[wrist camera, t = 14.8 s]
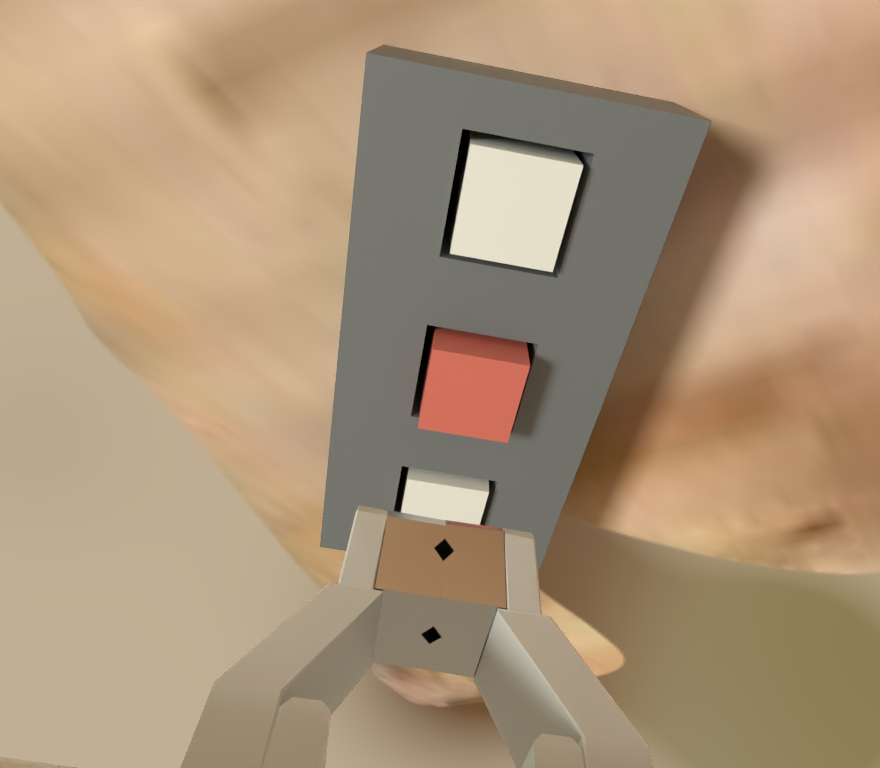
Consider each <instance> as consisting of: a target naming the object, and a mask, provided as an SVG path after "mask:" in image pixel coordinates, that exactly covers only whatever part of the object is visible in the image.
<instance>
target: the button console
mask: <svg viewBox="0 0 880 768" xmlns="http://www.w3.org/2000/svg"><path fill="white" fill-rule="evenodd" d="M710 124H711V121H710V120H708V119H706V118H704V117H702V116H700V115H698V114H696V113H694V112H692V111H690V110H688V109H686V108H684V107H682V106H680V105H678V104H676V103H674V102H669V101H664V100H659V99H654V98H648V97H643V96H638V95H633V94H628V93H623V92H618V91H613V90H608V89H603V88H598V87H593V86H588V85H583V84H578V83H573V82H568V81H563V80H558V79H553V78H548V77H543V76H538V75H533V74H528V73H523V72H518V71H513V70H508V69H503V68H498V67H493V66H487V65H482V64H477V63H472V62H467V61H462V60H457V59H452V58H447V57H442V56H437V55H432V54H427V53H422V52H417V51H412V50H407V49H402V48H397V47H392V46H387V45H382V46H380V47H378V48H376V49H373V50H371V51H369V52H367V53H366V62H365V73H364V84H363V95H362V105H361V116H360V127H359V137H358V148H357V159H356V169H355V180H354V191H353V201H352V212H351V223H350V233H349V244H348V255H347V266H346V276H345V287H344V298H343V308H342V319H341V330H340V340H339V351H338V362H337V372H336V383H335V394H334V404H333V415H332V426H331V437H330V447H329V458H328V469H327V479H326V490H325V501H324V511H323V522H322V533H321V543H320V547H325V548H331V549H338V550H345V551H346V550H347V546H348V542H349V538H350V533H351V529H352V525H353V521H354V517H355V513H356V511H357V509H358V506H359V505H360V506H366V507H371V508H376V509H382V510H387V511H388V512H389V510H391V511H396V512H400V508H401V501H402V494H403V487H404V480H405V478H401V477H400V474H401V468H402V466H405V467H411V468H417V469H423V470H429V471H436V472H442V473H448V474H454V475H460V476H467V477H473V478H479V479H485V480H489V494H488V498H487V501H486V505H485V508H484V512H483V515H482V519H481V522H480V525H483V526H490V527H497V528H501V529H503V528H504V529H510V530H517V531H524V532H531V533H532V534H533V536H534V539H535V550H536V560H537V570H538V571H539V569H540V566H541V563H542V561H543V558H544V556H545V553H546V550H547V548H548V545H549V543H550V540H551V537H552V535H553V532H554V530H555V527H556V524H557V522H558V519H559V517H560V514H561V511H562V509H563V506H564V504H565V501H566V498H567V496H568V493H569V491H570V488H571V485H572V483H573V480H574V478H575V475H576V472H577V470H578V467H579V465H580V462H581V459H582V457H583V454H584V452H585V449H586V446H587V444H588V441H589V439H590V436H591V433H592V431H593V428H594V426H595V423H596V420H597V418H598V415H599V413H600V410H601V407H602V405H603V402H604V400H605V397H606V394H607V392H608V389H609V387H610V384H611V381H612V379H613V376H614V373H615V371H616V368H617V366H618V363H619V360H620V358H621V355H622V353H623V350H624V347H625V345H626V342H627V340H628V337H629V334H630V332H631V329H632V327H633V324H634V321H635V319H636V316H637V314H638V311H639V308H640V306H641V303H642V301H643V298H644V295H645V293H646V290H647V288H648V285H649V282H650V280H651V277H652V275H653V272H654V269H655V267H656V264H657V262H658V259H659V256H660V254H661V251H662V249H663V246H664V243H665V241H666V238H667V236H668V233H669V230H670V228H671V225H672V223H673V220H674V217H675V215H676V212H677V210H678V207H679V204H680V202H681V199H682V197H683V194H684V191H685V189H686V186H687V183H688V181H689V178H690V176H691V173H692V170H693V168H694V165H695V163H696V160H697V157H698V155H699V152H700V150H701V147H702V144H703V142H704V139H705V137H706V134H707V131H708V129H709V126H710ZM462 129H467V130H472V131H477V132H483V133H488V134H493V135H498V136H503V137H509V138H514V139H519V140H524V141H529V142H535V143H540V144H545V145H550V146H555V147H561V148H566V149H571V150H573V151H574V153H575V154H576V156H577V157H578V158H579V160H580V161H581V163H582V164H583V169H582V172H581V176H580V179H579V183H578V186H577V190H576V193H575V197H574V200H573V204H572V207H571V210H570V214H569V217H568V221H567V224H566V228H565V231H564V235H563V238H562V242H561V245H560V248H559V252H558V255H557V259H556V262H555V266H554V269H553V272H548V271H543V270H537V269H532V268H526V267H520V266H515V265H509V264H504V263H498V262H493V261H487V260H482V259H476V258H471V257H465V256H460V255H454V254H450V247H451V235H452V224H453V223H451V222H446V217H447V212H448V206H449V200H450V195H451V189H452V184H453V178H454V173H455V167H456V161H457V156H458V150H459V145H460V139H461V133H462ZM427 325H431V326H436V327H442V328H448V329H454V330H459V331H465V332H471V333H477V334H482V335H488V336H494V337H500V338H505V339H511V340H517V341H522V342H526V343H527V349H528V355H529V361H530V369H529V372H528V375H527V379H526V382H525V386H524V389H523V392H522V396H521V399H520V403H519V406H518V409H517V413H516V416H515V420H514V423H513V426H512V430H511V433H510V437H509V440H508V443H504V442H498V441H492V440H486V439H480V438H474V437H468V436H462V435H456V434H449V433H443V432H437V431H431V430H425V429H419V428H418V422H419V414H420V406H421V398H422V390H423V382H424V374H425V369H426V367H422V366H420V362H421V357H422V351H423V345H424V340H425V334H426V329H427ZM387 517H388V515H387Z"/></svg>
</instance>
